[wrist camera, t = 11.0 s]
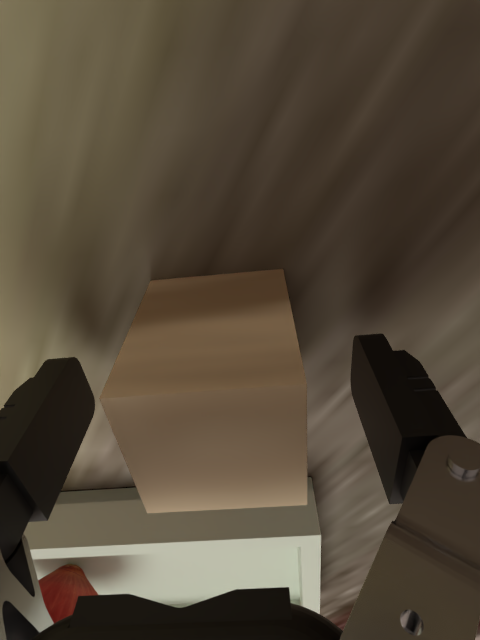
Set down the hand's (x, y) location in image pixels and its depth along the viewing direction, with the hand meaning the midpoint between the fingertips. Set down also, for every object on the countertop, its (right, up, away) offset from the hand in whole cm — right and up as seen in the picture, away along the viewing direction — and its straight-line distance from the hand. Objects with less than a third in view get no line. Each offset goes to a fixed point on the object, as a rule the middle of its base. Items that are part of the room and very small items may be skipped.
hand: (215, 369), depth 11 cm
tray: (-4, -11, +9) cm, 15 cm away
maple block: (0, +1, +1) cm, 2 cm away
